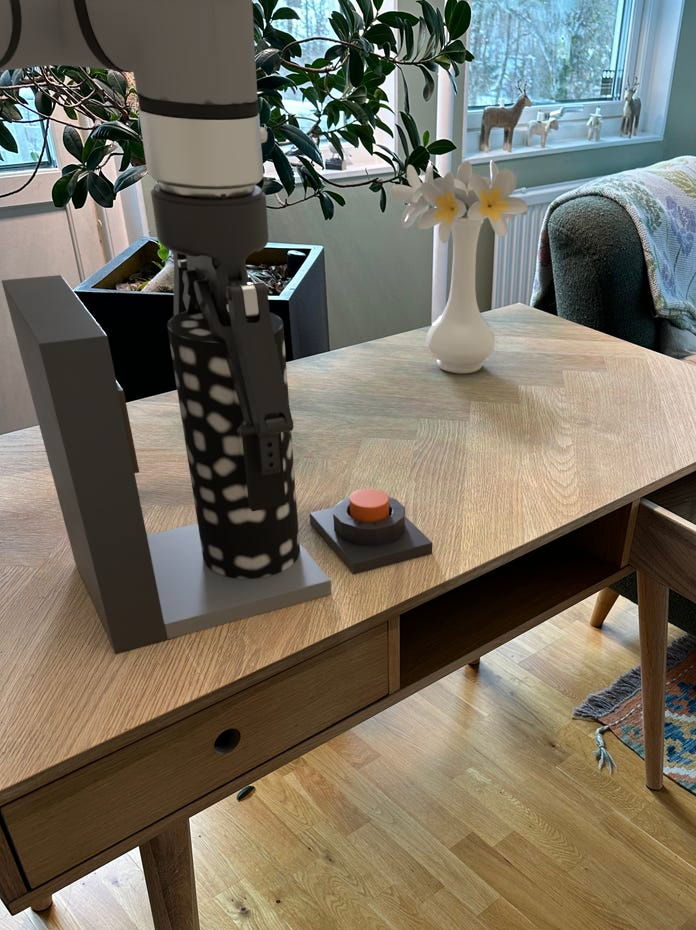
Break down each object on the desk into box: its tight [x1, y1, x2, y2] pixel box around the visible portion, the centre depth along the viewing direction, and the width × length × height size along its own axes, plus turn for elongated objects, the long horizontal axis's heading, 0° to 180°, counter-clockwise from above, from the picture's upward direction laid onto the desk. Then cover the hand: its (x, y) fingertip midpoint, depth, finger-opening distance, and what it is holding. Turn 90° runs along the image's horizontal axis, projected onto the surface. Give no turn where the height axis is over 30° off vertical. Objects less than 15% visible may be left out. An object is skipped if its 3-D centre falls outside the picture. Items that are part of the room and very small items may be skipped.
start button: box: [349, 488, 390, 522], centre depth 81 cm, size 4×4×2 cm
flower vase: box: [390, 160, 528, 374], centre depth 113 cm, size 13×18×25 cm
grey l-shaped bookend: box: [1, 274, 333, 654], centre depth 69 cm, size 14×18×24 cm
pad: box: [309, 496, 434, 575], centre depth 82 cm, size 10×8×3 cm
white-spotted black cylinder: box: [166, 311, 301, 579], centre depth 71 cm, size 8×8×20 cm
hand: (237, 468), depth 73 cm, fingers open, 13 cm apart
